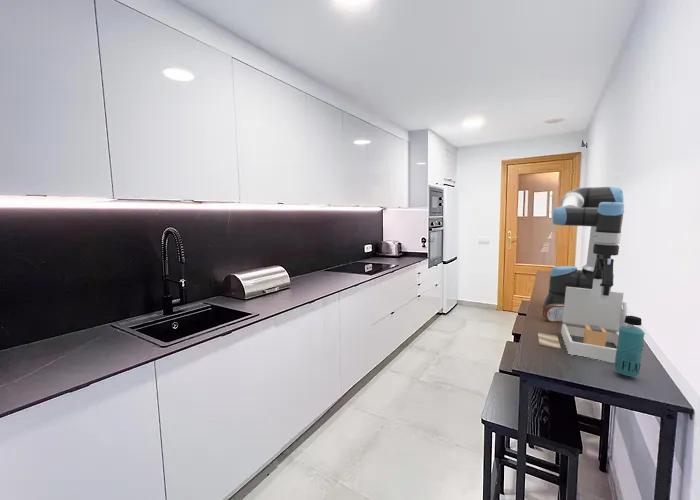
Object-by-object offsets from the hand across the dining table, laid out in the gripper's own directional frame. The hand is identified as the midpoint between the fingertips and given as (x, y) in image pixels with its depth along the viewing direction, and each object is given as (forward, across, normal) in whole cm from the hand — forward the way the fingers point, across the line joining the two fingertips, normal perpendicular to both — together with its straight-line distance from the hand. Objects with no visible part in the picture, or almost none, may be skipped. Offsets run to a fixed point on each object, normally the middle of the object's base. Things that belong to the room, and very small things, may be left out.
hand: (599, 299), depth 125 cm
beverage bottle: (+20, +21, +5) cm, 29 cm away
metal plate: (+20, 0, -15) cm, 25 cm away
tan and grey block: (+20, 0, 0) cm, 20 cm away
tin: (+20, -30, -9) cm, 37 cm away
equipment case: (+20, 0, 0) cm, 20 cm away
